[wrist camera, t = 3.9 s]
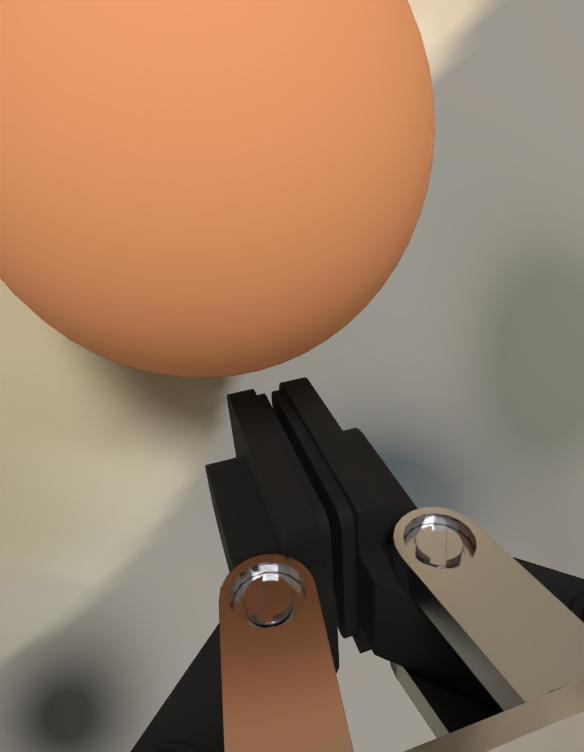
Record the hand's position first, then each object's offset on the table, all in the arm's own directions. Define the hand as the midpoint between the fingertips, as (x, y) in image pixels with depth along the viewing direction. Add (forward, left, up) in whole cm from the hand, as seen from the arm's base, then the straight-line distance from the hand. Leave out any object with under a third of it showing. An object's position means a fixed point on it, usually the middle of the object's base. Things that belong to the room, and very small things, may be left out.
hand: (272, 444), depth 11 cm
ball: (+6, 0, +1) cm, 6 cm away
